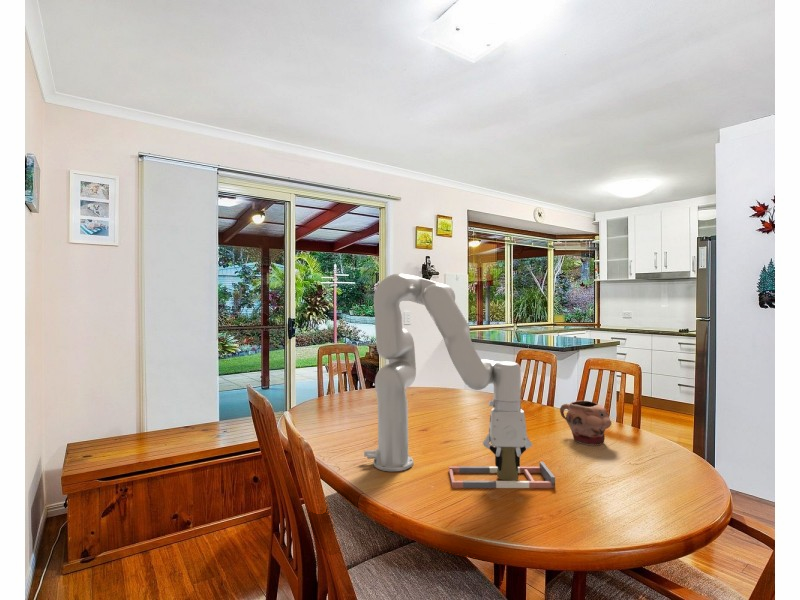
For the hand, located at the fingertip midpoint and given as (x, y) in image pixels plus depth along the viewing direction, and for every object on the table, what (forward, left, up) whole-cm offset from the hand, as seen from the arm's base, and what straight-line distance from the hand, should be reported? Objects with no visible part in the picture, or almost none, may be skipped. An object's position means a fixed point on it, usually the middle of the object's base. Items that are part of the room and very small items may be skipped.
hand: (507, 468), depth 122 cm
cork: (0, 0, -2) cm, 2 cm away
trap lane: (-2, 0, -3) cm, 4 cm away
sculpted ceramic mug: (+35, +33, -3) cm, 48 cm away
